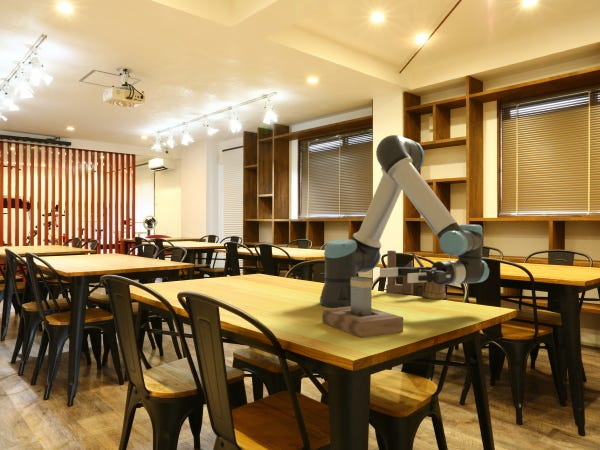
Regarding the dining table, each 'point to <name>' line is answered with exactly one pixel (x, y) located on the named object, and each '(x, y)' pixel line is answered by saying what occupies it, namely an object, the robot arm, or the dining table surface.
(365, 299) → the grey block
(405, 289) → the wooden block
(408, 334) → the dining table surface
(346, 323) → the walnut post block
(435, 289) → the wooden mug
